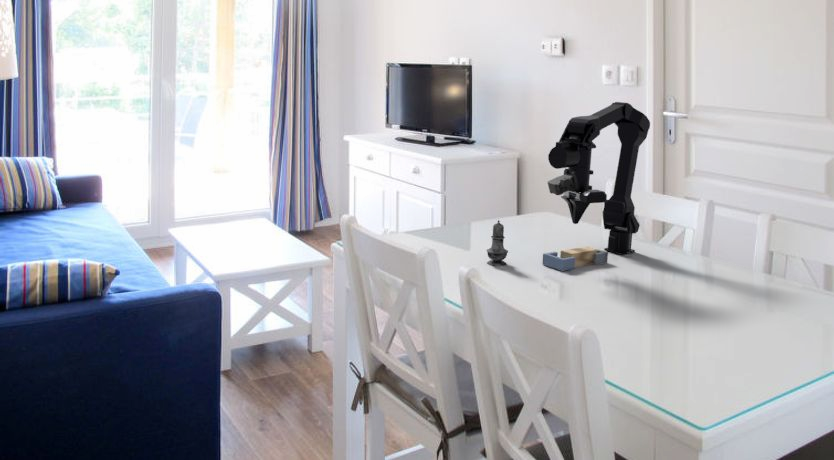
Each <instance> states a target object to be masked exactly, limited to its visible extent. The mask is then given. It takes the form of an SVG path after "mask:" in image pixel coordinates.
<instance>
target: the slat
mask: <svg viewBox="0 0 834 460" xmlns="http://www.w3.org/2000/svg"><path fill="white" fill-rule="evenodd" d="M598 250H599V249H598V248H594V247H590V246H582V247H581V246H580V247H576V248H569V249H568V248H567V249H564V250H560V255H559V257H560V258H568V257H575V267H582V266H586V265H594V264H593V259H594V254H595V253H598Z"/></svg>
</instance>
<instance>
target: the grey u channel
mask: <svg viewBox="0 0 834 460" xmlns="http://www.w3.org/2000/svg"><path fill="white" fill-rule="evenodd" d="M608 256H609V251H606V250H601V249H598V253H595V254H594V259H593V264H592V265H593V266H598V265H604V264H608V258H609V257H608Z"/></svg>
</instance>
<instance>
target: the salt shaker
mask: <svg viewBox="0 0 834 460" xmlns="http://www.w3.org/2000/svg"><path fill="white" fill-rule="evenodd" d="M504 229H505V227H504V225H503V224H502V223H501V221H500V220H497V223H495V224H493V226H492V235H491V239H492V240H491V246H490V248H487V249H486V252H487V257H488V258H489V259H490V260H489V261H487V262H486V264H487V265H488V266H493V267H504V266H507V262H506V261H504V260H505V259H506V257H507V256H508V253H509V250H508V249H505V247H504V239H505V238H506V237H505V236H504V234H505V233H504Z"/></svg>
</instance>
